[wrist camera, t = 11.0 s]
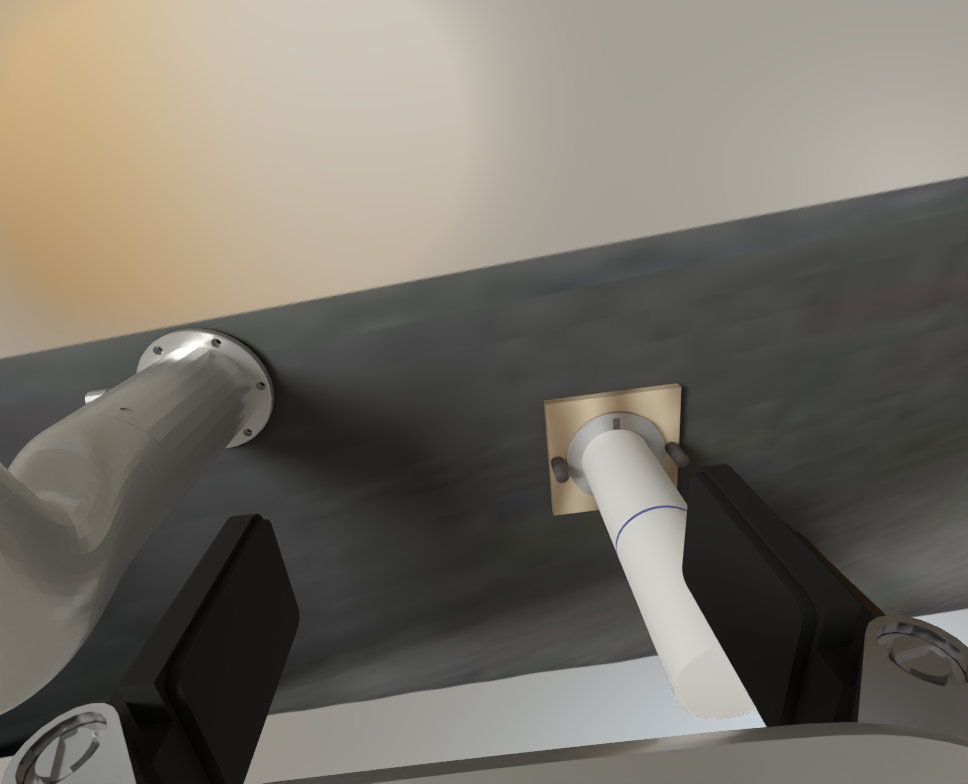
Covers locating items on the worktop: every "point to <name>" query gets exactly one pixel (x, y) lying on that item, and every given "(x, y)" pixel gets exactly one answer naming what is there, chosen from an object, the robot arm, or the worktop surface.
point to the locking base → (598, 413)
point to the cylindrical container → (661, 571)
